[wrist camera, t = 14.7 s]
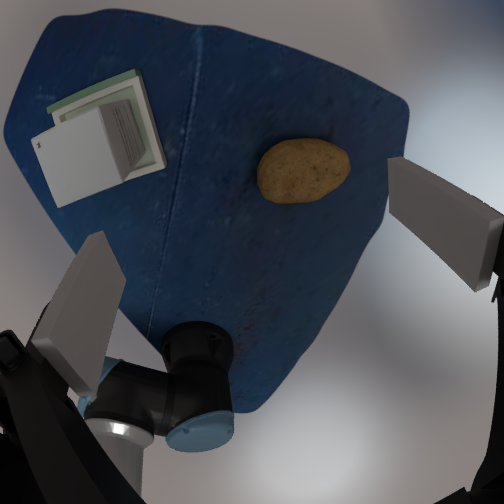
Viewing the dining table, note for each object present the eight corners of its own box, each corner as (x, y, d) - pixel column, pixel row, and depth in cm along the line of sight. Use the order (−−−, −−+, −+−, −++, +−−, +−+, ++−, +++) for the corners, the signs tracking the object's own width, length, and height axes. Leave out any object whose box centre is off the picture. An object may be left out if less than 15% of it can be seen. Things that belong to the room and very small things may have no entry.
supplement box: (94, 172, 43) (55, 211, 30) (76, 119, 38) (27, 139, 26) (147, 153, 43) (124, 185, 30) (130, 97, 38) (97, 104, 26)
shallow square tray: (167, 163, 45) (164, 170, 42) (86, 190, 45) (78, 199, 42) (140, 70, 37) (134, 68, 34) (57, 105, 37) (46, 107, 34)
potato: (340, 181, 50) (361, 198, 44) (258, 201, 50) (268, 223, 44) (332, 124, 45) (354, 133, 39) (244, 143, 45) (252, 155, 39)
